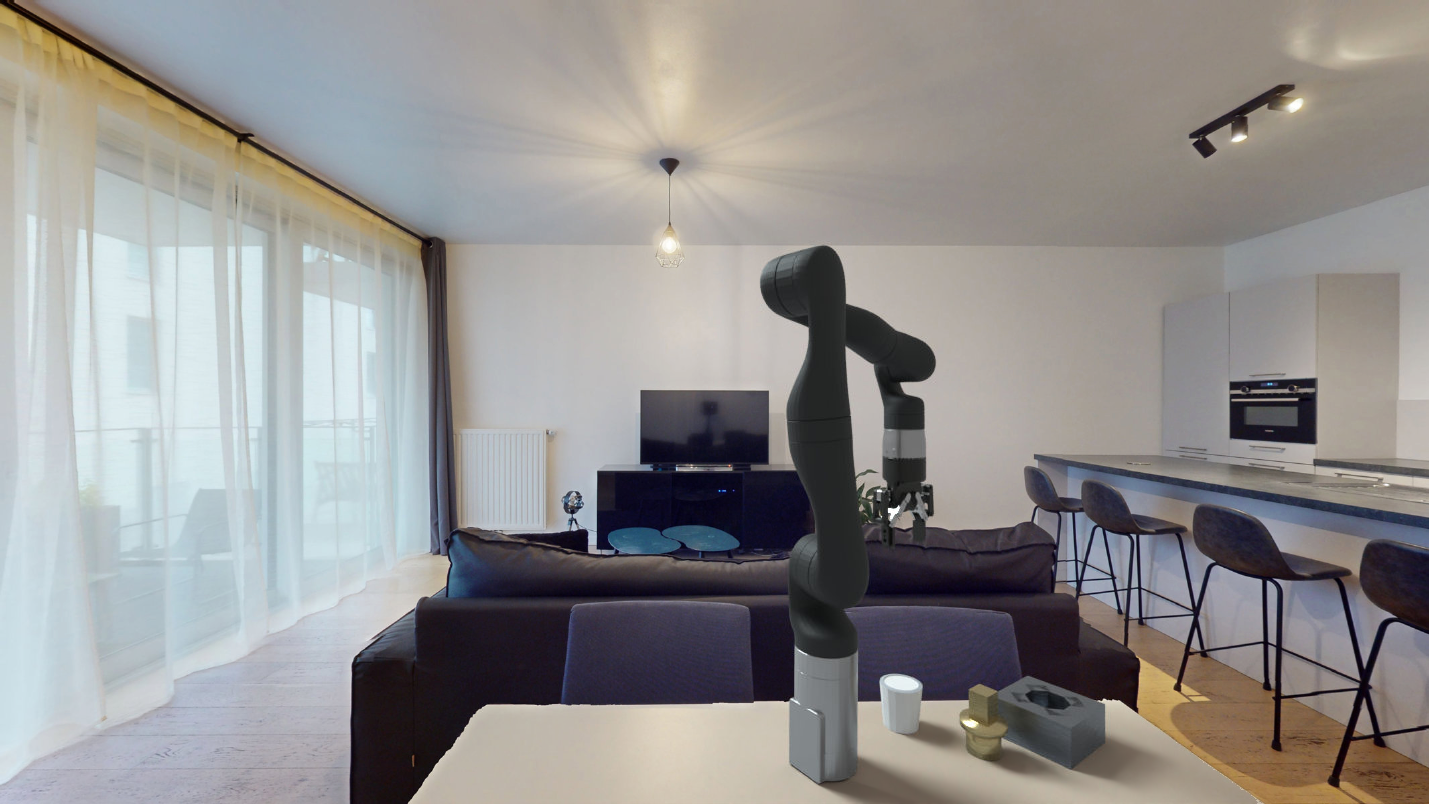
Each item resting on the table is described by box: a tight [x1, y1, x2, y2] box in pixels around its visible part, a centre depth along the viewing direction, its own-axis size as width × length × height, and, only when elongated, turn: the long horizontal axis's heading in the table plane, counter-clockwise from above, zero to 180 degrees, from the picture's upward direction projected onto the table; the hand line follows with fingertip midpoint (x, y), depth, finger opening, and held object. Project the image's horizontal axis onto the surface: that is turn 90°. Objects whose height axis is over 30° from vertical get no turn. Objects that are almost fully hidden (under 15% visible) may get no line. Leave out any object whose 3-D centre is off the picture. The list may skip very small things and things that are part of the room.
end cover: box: [958, 683, 1008, 762], centre depth 90 cm, size 7×7×9 cm
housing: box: [997, 675, 1106, 770], centre depth 94 cm, size 12×12×6 cm
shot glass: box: [879, 673, 924, 735], centre depth 98 cm, size 7×7×7 cm
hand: (904, 544), depth 106 cm, fingers open, 8 cm apart
